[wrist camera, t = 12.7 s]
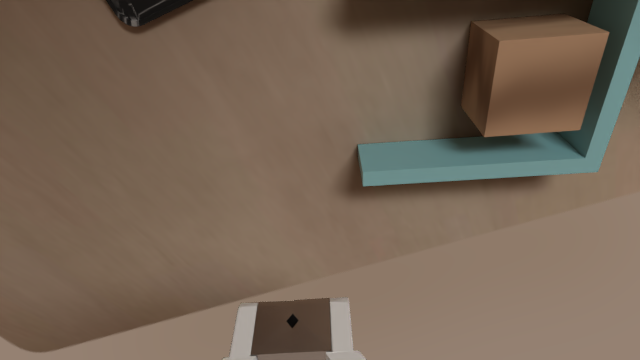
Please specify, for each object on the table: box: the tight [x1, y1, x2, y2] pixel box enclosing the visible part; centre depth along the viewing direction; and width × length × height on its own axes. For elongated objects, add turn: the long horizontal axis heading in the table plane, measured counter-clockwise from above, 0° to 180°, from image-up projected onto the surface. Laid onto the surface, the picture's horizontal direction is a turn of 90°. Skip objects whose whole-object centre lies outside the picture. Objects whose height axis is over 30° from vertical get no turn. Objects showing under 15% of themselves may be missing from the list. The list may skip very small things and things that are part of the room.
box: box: [358, 0, 640, 186], centre depth 27 cm, size 14×16×4 cm
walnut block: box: [461, 14, 609, 137], centre depth 26 cm, size 6×6×5 cm
